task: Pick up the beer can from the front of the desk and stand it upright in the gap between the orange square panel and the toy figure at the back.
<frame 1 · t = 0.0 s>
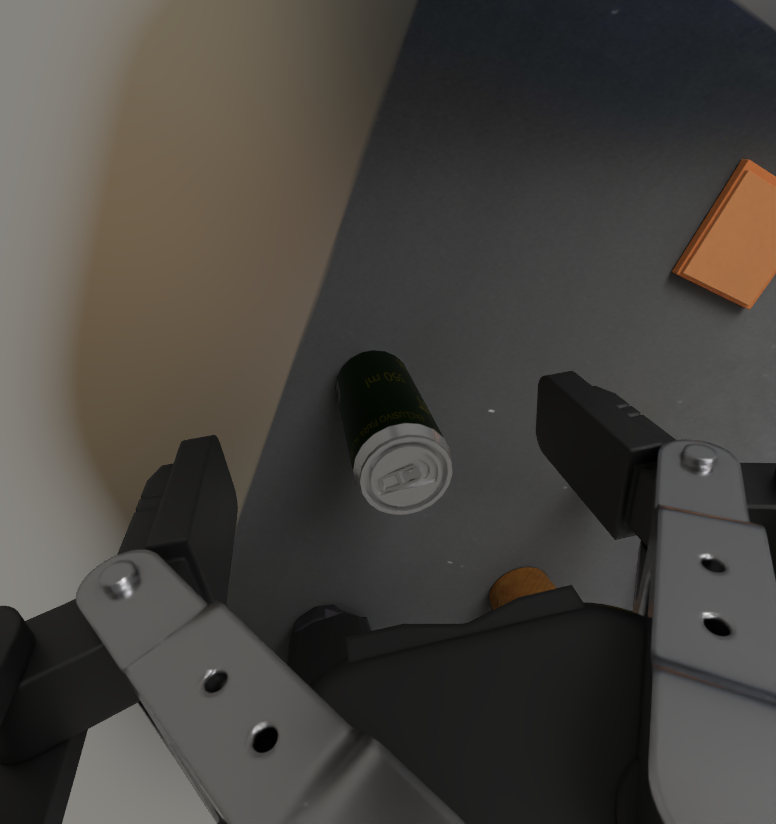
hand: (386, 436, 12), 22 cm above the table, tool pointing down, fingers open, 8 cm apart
portable speaker: (330, 629, 48), on the table
disposable coffee cup: (517, 588, 50), on the table
beer can: (371, 380, 36), on the table
orange square panel: (742, 239, 36), on the table
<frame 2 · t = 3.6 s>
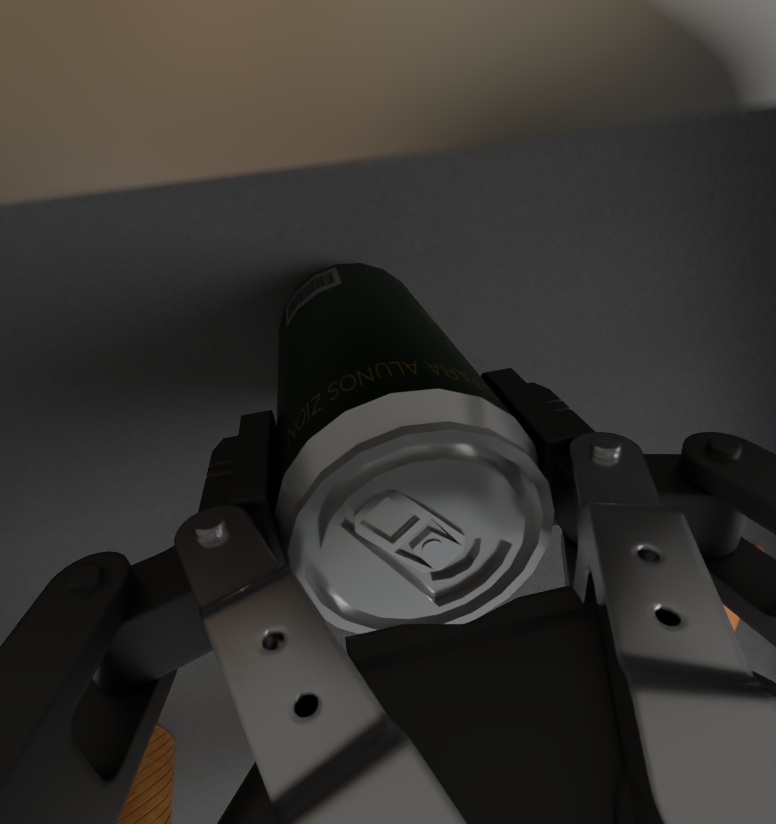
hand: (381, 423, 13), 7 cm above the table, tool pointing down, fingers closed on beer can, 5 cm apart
disposable coffee cup: (119, 746, 29), on the table
beer can: (349, 327, 19), on the table, touching gripper
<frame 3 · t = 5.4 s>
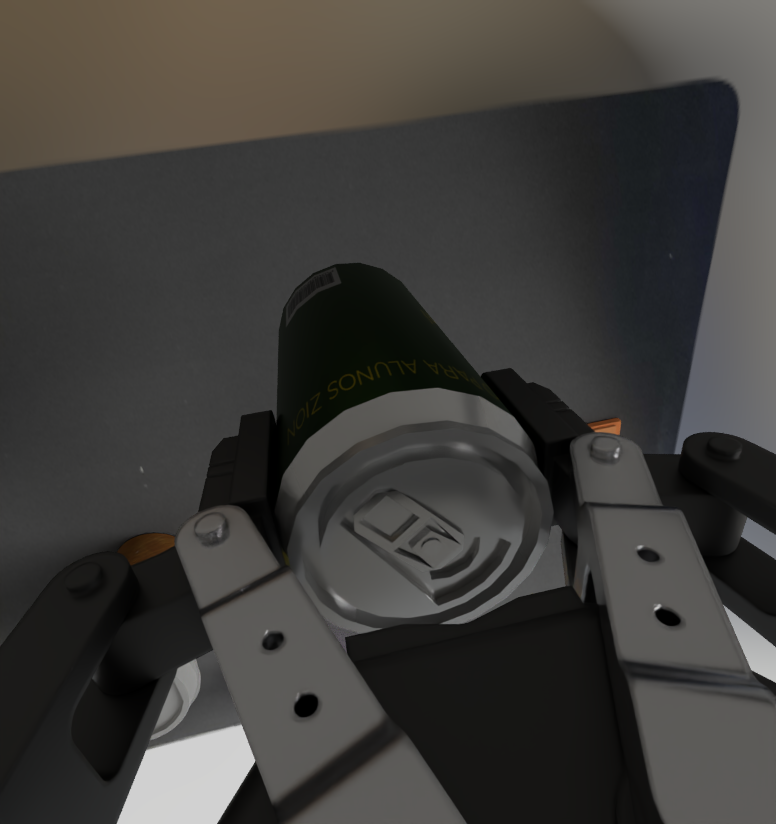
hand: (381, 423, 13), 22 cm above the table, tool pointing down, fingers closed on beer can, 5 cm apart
disposable coffee cup: (158, 560, 41), on the table
beer can: (349, 327, 19), point 14 cm above the table, touching gripper
orange square panel: (570, 464, 44), on the table
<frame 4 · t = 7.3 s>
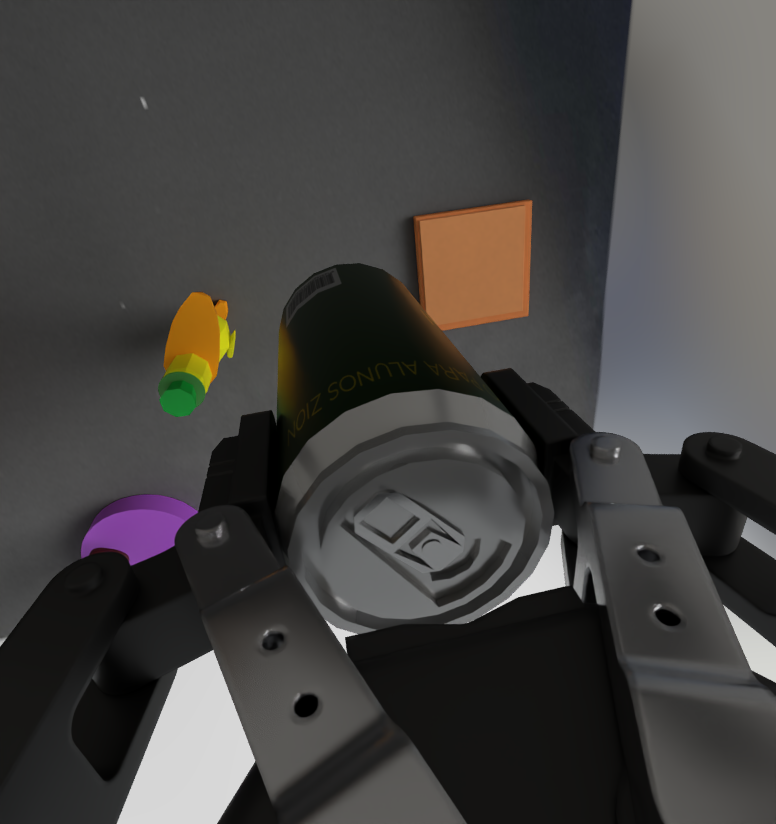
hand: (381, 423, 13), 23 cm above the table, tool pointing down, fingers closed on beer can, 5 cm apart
figurine: (152, 538, 41), on the table
beer can: (349, 327, 19), point 15 cm above the table, touching gripper
toy figure: (214, 308, 33), on the table
orange square panel: (473, 268, 35), on the table
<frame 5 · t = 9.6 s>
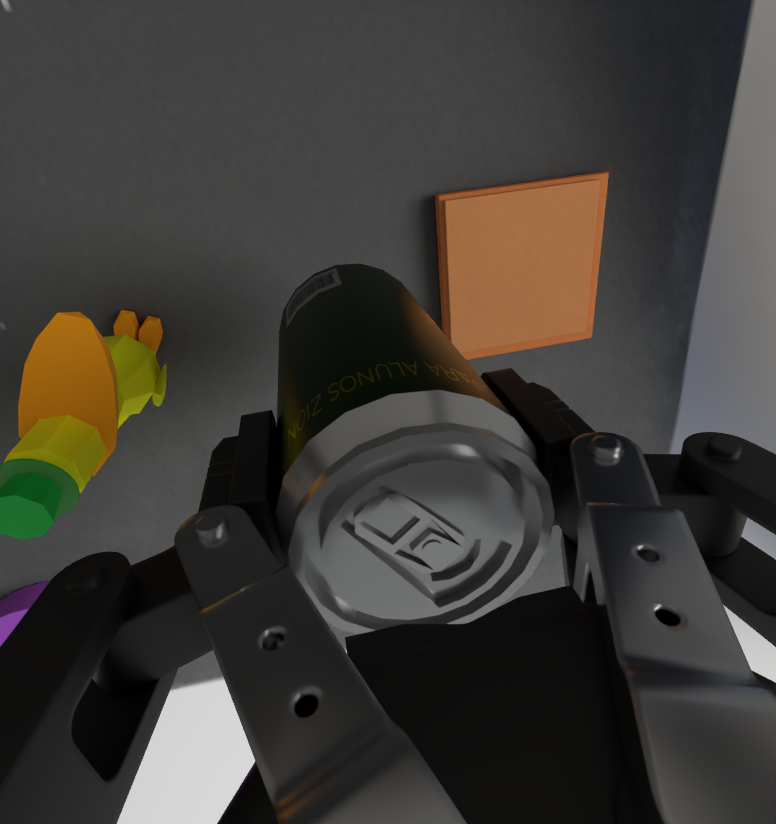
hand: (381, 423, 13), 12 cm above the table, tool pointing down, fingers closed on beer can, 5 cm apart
figurine: (76, 633, 30), on the table
beer can: (349, 328, 19), point 5 cm above the table, touching gripper
toy figure: (142, 329, 23), on the table
orange square panel: (517, 271, 24), on the table
when the fingers open (7 cm above the table, at t = 11.2 s): beer can stays where it is, on the table.
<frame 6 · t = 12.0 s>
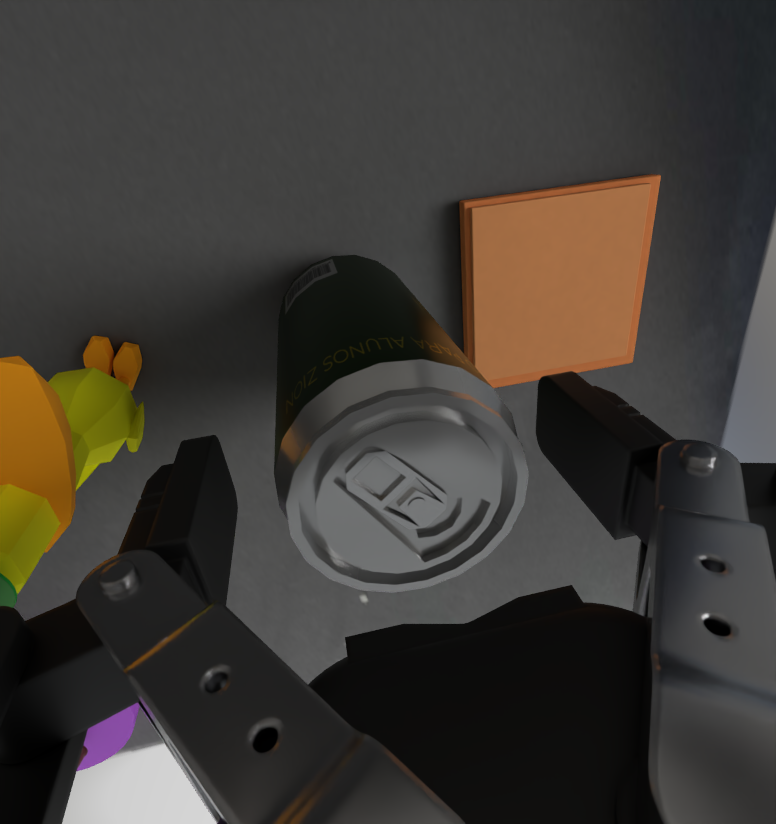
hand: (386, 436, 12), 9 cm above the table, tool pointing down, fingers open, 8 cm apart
figurine: (51, 688, 27), on the table
beer can: (345, 317, 20), on the table
toy figure: (118, 356, 19), on the table
orange square panel: (551, 288, 21), on the table
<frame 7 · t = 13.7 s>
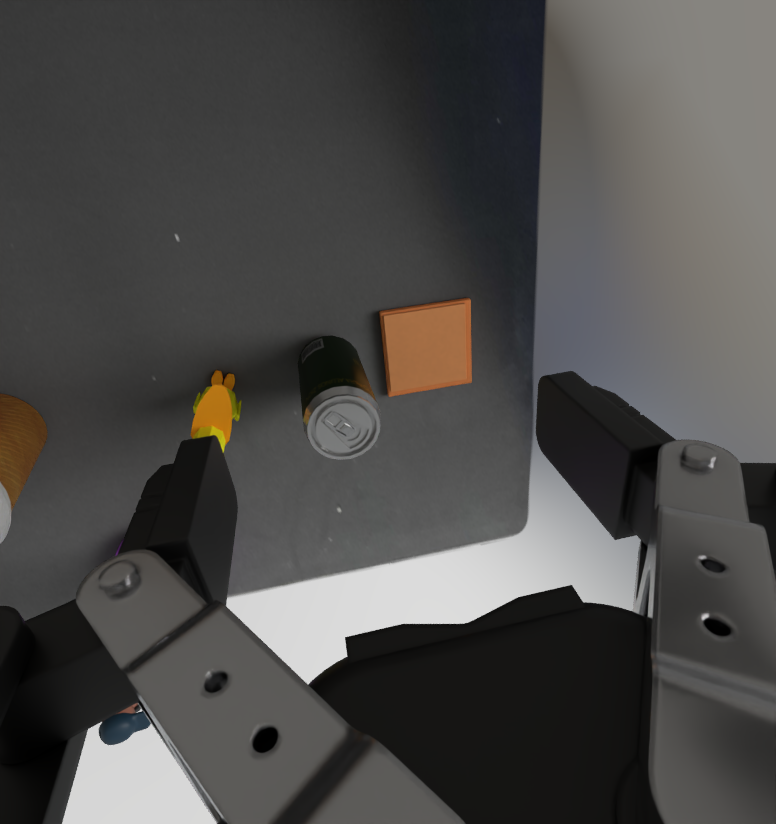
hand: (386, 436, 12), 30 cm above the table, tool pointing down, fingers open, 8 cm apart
figurine: (168, 556, 50), on the table
disposable coffee cup: (5, 426, 41), on the table
beer can: (328, 361, 44), on the table
toy figure: (224, 379, 43), on the table
orange square panel: (426, 347, 45), on the table
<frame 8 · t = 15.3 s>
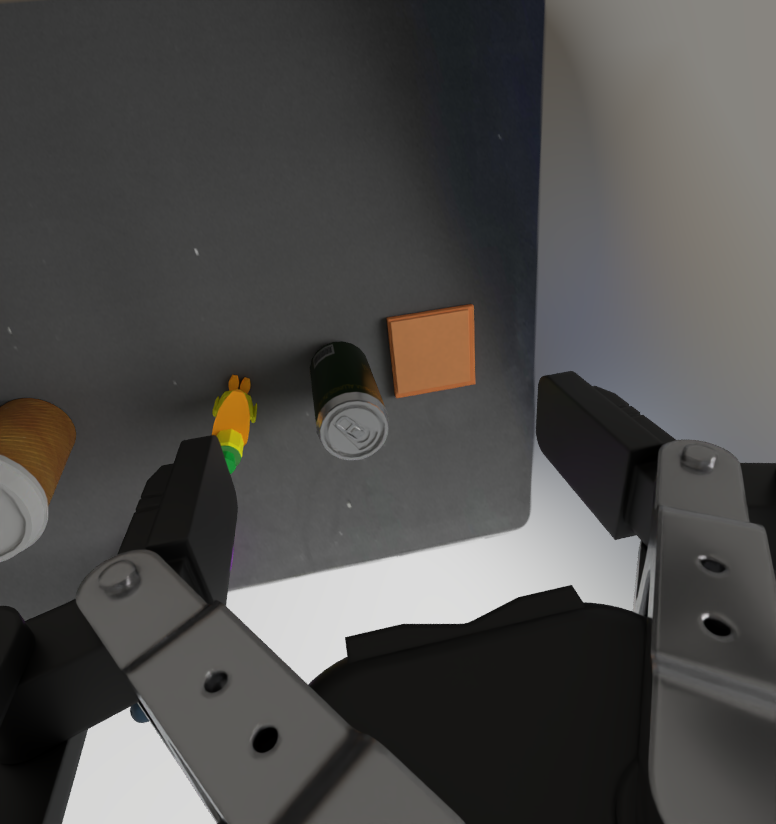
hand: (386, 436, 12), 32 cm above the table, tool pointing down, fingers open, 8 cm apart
disposable coffee cup: (37, 428, 44), on the table
beer can: (338, 365, 46), on the table
toy figure: (240, 383, 45), on the table
orange square panel: (432, 351, 47), on the table
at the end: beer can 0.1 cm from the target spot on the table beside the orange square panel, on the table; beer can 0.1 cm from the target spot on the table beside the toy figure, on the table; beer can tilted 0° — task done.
